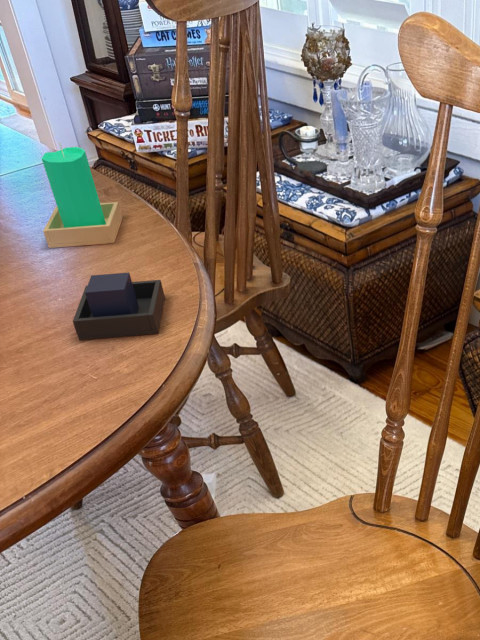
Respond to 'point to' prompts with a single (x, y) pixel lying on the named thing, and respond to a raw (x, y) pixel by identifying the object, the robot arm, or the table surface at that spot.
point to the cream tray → (84, 229)
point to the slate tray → (123, 325)
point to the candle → (73, 187)
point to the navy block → (111, 295)
